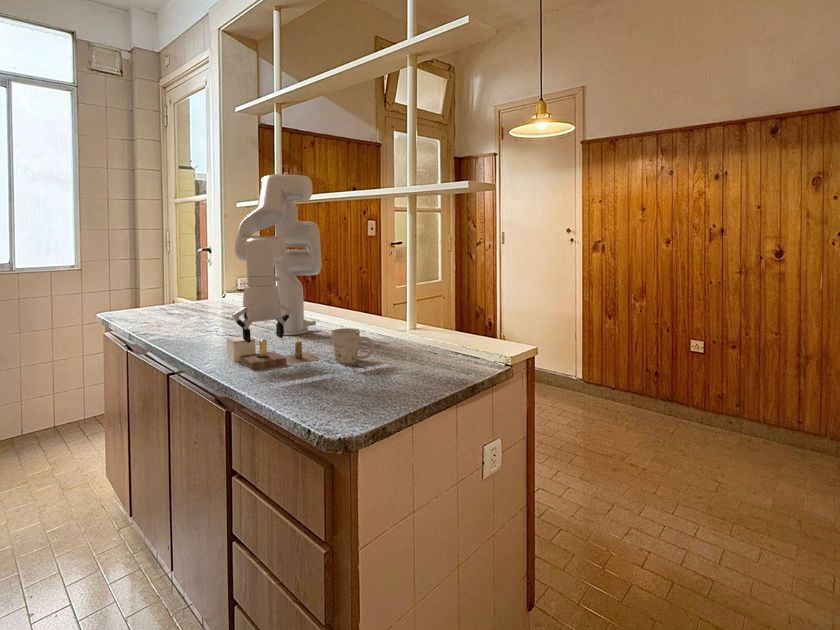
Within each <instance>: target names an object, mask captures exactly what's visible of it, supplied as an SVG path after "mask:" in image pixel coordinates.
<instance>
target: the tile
mask: <svg viewBox="0 0 840 630" xmlns="http://www.w3.org/2000/svg"><path fill="white" fill-rule="evenodd" d="M302 343H303V341H299V340H298V341H295V342H294V354H289V355H283V356H284V357H286V359H287V364H289V365H294V364H301V363H306V362H312V361H318V360H321V358H320V357H318V356H315V355H314V354H311V353H309V352H303V344H302Z"/></svg>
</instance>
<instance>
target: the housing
mask: <svg viewBox="0 0 840 630" xmlns="http://www.w3.org/2000/svg"><path fill="white" fill-rule="evenodd" d="M250 337H251V342H250V343H247V342H246V341H245V340H244V339H243V335H241V336H233V337H227V338H226V352H227V353H226V354H227V355H226V356H227V358H228V359H229V360H231V361H232V362H234V363H236V362H237V363H238V362H240V356H243V355H250V354H257V352H256V339H255V338H253V337H252V336H250Z"/></svg>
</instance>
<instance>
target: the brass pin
mask: <svg viewBox="0 0 840 630" xmlns="http://www.w3.org/2000/svg"><path fill="white" fill-rule="evenodd" d="M258 343H259V344H258V345H259V346H258V347H259V348H258V349H259V353H260V359H262V358H267V352H268V345H267V339H259V340H258Z"/></svg>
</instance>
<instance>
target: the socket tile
mask: <svg viewBox="0 0 840 630" xmlns="http://www.w3.org/2000/svg"><path fill="white" fill-rule="evenodd" d="M284 356H285V355H282V354H279V353H277V352H276V351H273V350H271V351H267V358H262V359H260V352H258V353H257V352H256V354H250V355H243V356H240V361H239V362H240V363H241V365H244V366H245V367H247V368H248V369H249V370H251V371H256V370H257V371H258V370H262V369H270V368H275V367H281V366H287V364H288V363H287V359H286V357H284Z"/></svg>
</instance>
